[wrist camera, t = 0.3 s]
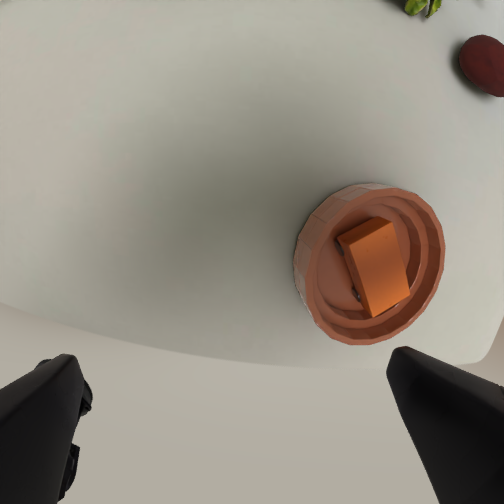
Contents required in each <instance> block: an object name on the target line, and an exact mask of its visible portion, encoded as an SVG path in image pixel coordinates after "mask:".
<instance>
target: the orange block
mask: <svg viewBox="0 0 504 504" xmlns="http://www.w3.org/2000/svg"><path fill="white" fill-rule="evenodd" d="M337 239H338V240H336V241H335V247H336V249H337V251H338V253H339V254H340V255H341V256H344V258H345V260H346V263H347V266H348V269H349V271H350V274H351V277H352V280H353V283H354V286H355V287H354V288H352V293H353V295H354V297H355V299H356V300H357V301H358V302H360V303H361V306H362V307H363V308H364V309H365V310H366V311H367V312H368V313H369V314H370V315H371V316H372V317H375V316H377V315H379V314H380V313H382V312H384V311H385V310H387V309H388V308H390V307H392V306H393V305H395V304H397V303H398V302H400V301H401V300H403V299H404V298H406V297H408V296H409V295H410V290H409V285H408V281H407V276H406V272H405V267H404V263H403V259H402V255H401V251H400V247H399V243H398V240H397V236H396V233H395V229H394V226H393V222H392V221H389V220H387V219H384V218H382V217H379V216H376V217H374V218H372V219H370V220H368V221H366V222H365V223H363V224H361V225H359V226H357V227H355V228H353V229H351V230H350V231H348V232H346V233H344V234H342V235H340V236H338V237H337Z"/></svg>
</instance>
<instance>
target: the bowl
mask: <svg viewBox="0 0 504 504" xmlns="http://www.w3.org/2000/svg"><path fill="white" fill-rule="evenodd" d="M376 216H379V217H382V218H384V219H387V220H389V221H392V222H393V226H394V229H395V233H396V236H397V240H398V243H399V247H400V251H401V255H402V259H403V263H404V267H405V272H406V276H407V281H408V285H409V290H410V295H409V296H408V297H406V298H404V299H403V300H401V301H400V302H398V303H397V304H395V305H393V306H392V307H390V308H388V309H387V310H385V311H384V312H382V313H380V314H379V315H377V316H375V317H372V316H371V315H370V314H369V313H368V312H367V311H366V310H365V309H364V308H363V307H362V306H361V303H360V302H358V301H357V300H356V299H355V297H354V295H353V293H352V288H354V287H355V286H354V283H353V280H352V277H351V274H350V271H349V269H348V266H347V263H346V260H345V258H344V256H341V255H340V254H339V253H338V251H337V249H336V247H335V241H336V240H338V239H337V237H338V236H340V235H342V234H344V233H346V232H348V231H350V230H351V229H353V228H355V227H357V226H359V225H361V224H363V223H365V222H366V221H368V220H370V219H372V218H374V217H376ZM444 259H445V242H444V236H443V231H442V226H441V224H440V222H439V220H438V218H437V217H436V215H435V213H434V211H433V209H432V207H431V206H429V205H428V204H427V203H426V202H425V201H424V200H423V199H421V198H420V197H419V196H418V195H417V194H415V193H412V192H408V191H405V190H402V189H399V188H395V187H391V186H386V185H381V184H375V183H367V184H357V185H350V186H348V187H346V188H344V189H342V190H340V191H338V192H336V193H334V194H332V195H330V196H329V197H328V198H327V199H326V200H325V201H324V202H323V203H322V204H321V205H320V206H319V207H318V208H317V209H315V210H314V211H313V212H312V214H310V216H309V218H308V220H307V222H306V223H305V225H304V227H303V229H302V231H301V233H300V234H299V236H298V240H297V245H296V249H295V254H294V258H293V268H294V278H295V286H296V288H297V290H298V292H299V294H300V296H301V298H302V300H303V303H304V304H305V306H306V308H307V310H308V311H309V313H310V315H311V316H312V318H313V320H314V322H315V323H316V325H317V326H318V327H319V328H321V329H322V330H323V331H324V332H325V333H326V334H327V335H328V336H329V337H330V338H332V339H335V340H337V341H340V342H343V343H346V344H348V345H371V344H375V343H378V342H381V341H384V340H387V339H390V338H392V337H393V336H395V335H397V334H398V333H400V332H401V331H403V330H404V329H406V328H408V327H409V326H410V325H411V324H412V323H413V322H414V321H415V320H416V319H417V318H418V317H419V316H420V315H421V314H422V313H423V312H424V310H425V309H426V307H427V306H428V304H429V302H430V301H431V299H432V297H433V296H434V294H435V292H436V290H437V288H438V285H439V282H440V279H441V276H442V273H443V269H444Z"/></svg>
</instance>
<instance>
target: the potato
mask: <svg viewBox="0 0 504 504" xmlns="http://www.w3.org/2000/svg"><path fill="white" fill-rule="evenodd" d="M459 62H460V67H461V69H462V70H463V72H464V74H465V75H466V76H467V78H468V79H469V80H470V81H471V82H472V83H474V84H475V85H476V86H478V87H479V88H480V89H481V90H483V91H484V92H486V93H488V94H491V95H494V96H496V97H504V45H503V44H502V43H501V42H499V41H498V40H497V39H495V38H492V37H490V36H486V35H477V36H474V37H471V38H469V39H468V40H467V41H466V42H465V44H464V45H463V47H462V48H461V51H460V55H459Z"/></svg>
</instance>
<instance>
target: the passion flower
mask: <svg viewBox="0 0 504 504" xmlns="http://www.w3.org/2000/svg"><path fill="white" fill-rule="evenodd" d="M427 3H428V0H407V1H406V4H405V8H404V10H405V11H406V12H407V14H408V15H410V16H414V15H416V14H418V13H419V12H420V11H422V10H423V8H424V7H425V6H426V4H427ZM440 6H441V0H430V5H429V10H428V14H427V15H426V16H425V17H426V18H429V17H430V16H431V15H432V14H434V13H435V12H436V11H437V9H438V8H439V7H440Z"/></svg>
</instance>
